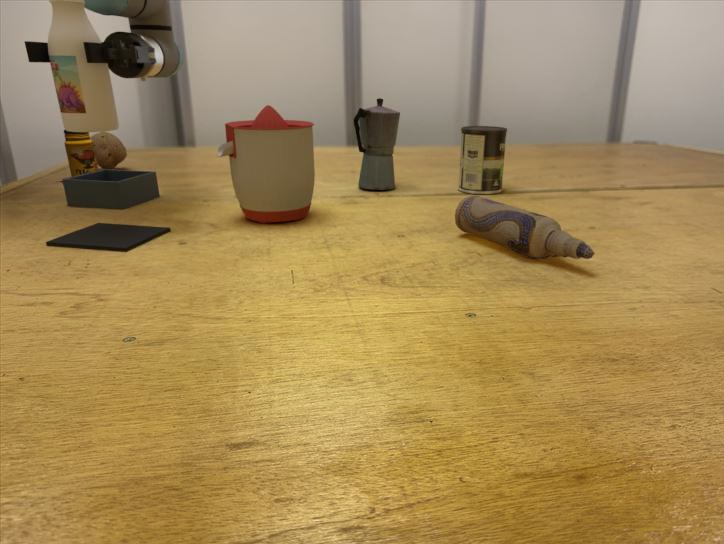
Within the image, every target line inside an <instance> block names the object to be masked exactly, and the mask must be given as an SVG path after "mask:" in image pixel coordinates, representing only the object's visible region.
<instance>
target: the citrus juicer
mask: <svg viewBox="0 0 724 544" xmlns="http://www.w3.org/2000/svg"><path fill="white" fill-rule="evenodd" d="M313 126H315V124H314V122H311V121H306V120H295V119H284V117H282V116H281V114H280V113H279V112H278V111H277V110H276V109H275V108H274V107H272V106H271V105H269V104H268V105H265V106H264V107H263V108H262V109H261V110H260V112H259V113H258V114H257V115H256V117H255V119H252V120H236V121H230V122H226V123H224V127H225V128H224V129H225V138H226V142H224V143H222V144H221V145H219V147H218V149H217V153H216V155H217V158H222V157H226V156H228V158H229V168H230V169H229V170H230V175H231V182H232V187H233V190H234V193H235V196H236V199H237V201H238V204H239V207H240V209H241V212H242V213H243V215H244V217H245V218H246V219H248V220H250V221H255V222H258V223H260V224H270V223H280V222H290V221H291V222H292V221H298V220H299V221H300V220H303V219H304V218H305V217H306V216H307V215H308V214H309V211H310V208H311V206H312V200H313V196H314V190H315V180H316V179H315V178H316V177H315V175H316V174H315V173H316V172H315V171H316V169H315V153H314V152H315V151H314V150H315V149H314V133H313V132H314V130H313V128H314V127H313Z"/></svg>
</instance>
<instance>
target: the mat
mask: <svg viewBox="0 0 724 544" xmlns="http://www.w3.org/2000/svg"><path fill="white" fill-rule="evenodd" d="M171 231H172V230H171V227H168V226H167V227H166V226H155V225H154V226H152V225H151V226H150V225H139V224H137V225H136V224H124V223H123V224H122V223H109V222H96V223H94V224H91V225H88V226H86V227H83V228H80V229H77V230H75V231H72V232H69V233H67V234H64V235H61V236H58V237H56V238H53V239H50V240H47V241H45V244H46V246H47V247H62V248H76V249H87V250H99V251H102V250H103V251H112V252H125V253H126V252H128V251H131V250H133V249H135V248H137V247H139V246H141V245H144V244H145V243H146V244H147V243H148V242H151V241H152V240H154V239H156V238H159V237H160V236H163V235H165V234H168V233H170V232H171Z"/></svg>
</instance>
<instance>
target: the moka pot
mask: <svg viewBox="0 0 724 544" xmlns="http://www.w3.org/2000/svg"><path fill="white" fill-rule="evenodd" d="M383 103H384V99H383V98H380V97H379V98H377V99H376V106H372V107H367V108H362V107H359V108H358V110H357V113H356V114H355V115H354V118H353V126H354V130H355V131H354V132H355V135H356V141H357V147H358V152H359V153H363V154H362V159H361V164H360V165H361V166H360V171H359V178H358V185H357V186H358V187H359V188H360V189H363V190H371V191H389V190H394V189H396V181H395V167H394V166H395V165H394V164H395V163H394V156H393V155H394V151H395V146H396V145H397V144H396V143H397V137H398V130H399V123H400V118H401V113H400V111H398V110H395V109H392V108H389V107H387V106H384V105H383Z"/></svg>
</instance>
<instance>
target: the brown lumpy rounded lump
mask: <svg viewBox="0 0 724 544" xmlns="http://www.w3.org/2000/svg"><path fill="white" fill-rule="evenodd" d="M90 139H91V140H92V142H93V146H94V150H95V156H96V161H97V165H98V166H99V167H100V168H101V170H103V169H112V170H115V168H116V167H117V166H118V165H120V163H122V162H124V161H125V160H126V158H127V156H128V151H127V149H126V147H125V145H124V144H123V142H122V141H121V139H120V138H118V137H117V136H116V135H114V134H113V133H111V132H109V131H103V132H96V133H94V134H92V135H90Z"/></svg>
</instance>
